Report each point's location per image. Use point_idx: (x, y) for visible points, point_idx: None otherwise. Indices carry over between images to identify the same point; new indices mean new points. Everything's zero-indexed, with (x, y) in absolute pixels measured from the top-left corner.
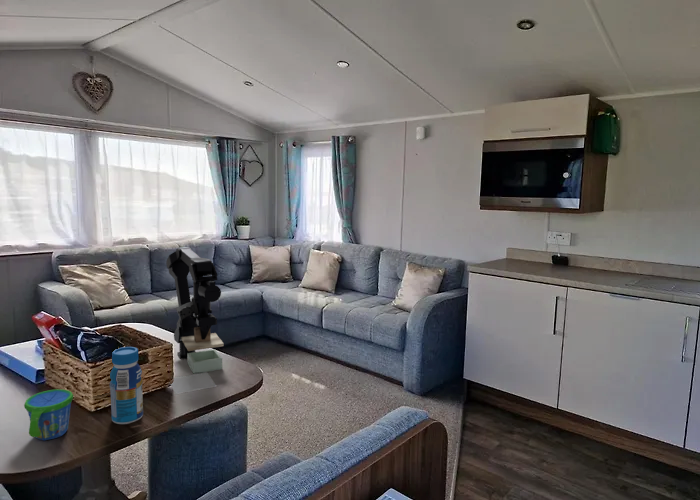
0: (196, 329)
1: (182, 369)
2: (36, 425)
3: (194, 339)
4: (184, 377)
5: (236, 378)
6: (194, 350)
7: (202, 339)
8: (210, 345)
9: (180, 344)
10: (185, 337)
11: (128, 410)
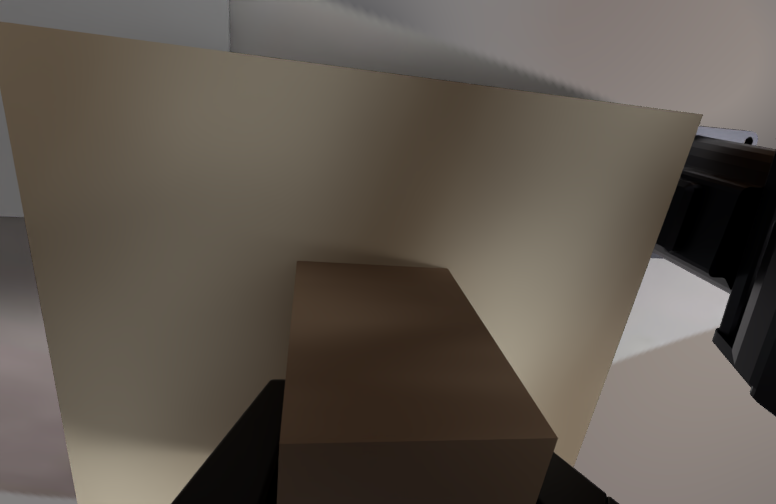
0: (347, 468)
1: (421, 65)
2: None
3: (434, 272)
4: (191, 7)
5: (36, 378)
6: (655, 251)
7: (273, 384)
8: (63, 423)
9: (772, 155)
10: (642, 169)
11: None
